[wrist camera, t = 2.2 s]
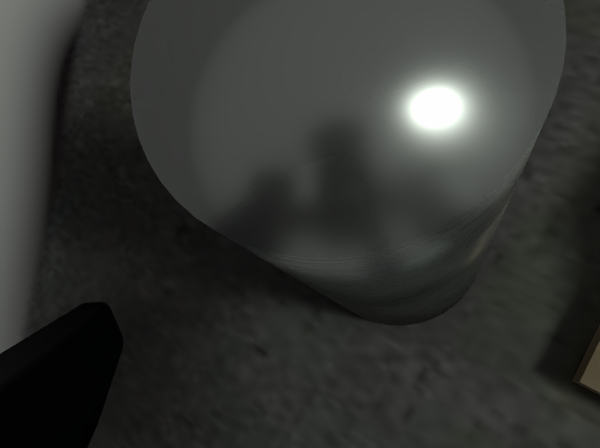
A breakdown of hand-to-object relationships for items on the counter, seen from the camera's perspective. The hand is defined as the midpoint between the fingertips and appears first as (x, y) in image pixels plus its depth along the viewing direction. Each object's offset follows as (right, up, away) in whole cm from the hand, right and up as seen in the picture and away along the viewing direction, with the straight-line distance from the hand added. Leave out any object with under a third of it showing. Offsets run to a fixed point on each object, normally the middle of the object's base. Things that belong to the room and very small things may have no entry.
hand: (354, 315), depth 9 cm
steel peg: (+3, +1, +11) cm, 11 cm away
